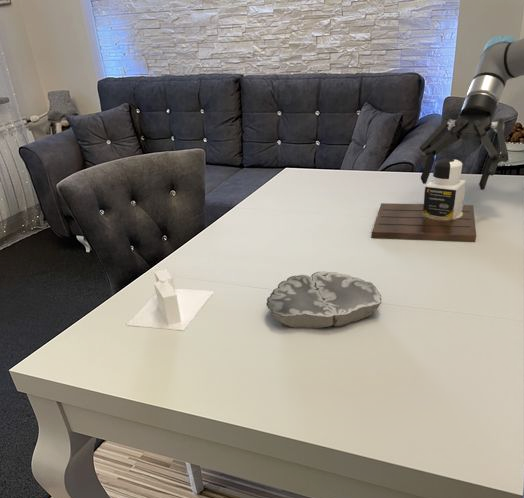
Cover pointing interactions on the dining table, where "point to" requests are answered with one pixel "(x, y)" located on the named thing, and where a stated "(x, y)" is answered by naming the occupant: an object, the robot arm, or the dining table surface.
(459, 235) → the board
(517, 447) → the dining table surface
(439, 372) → the dining table surface
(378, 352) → the dining table surface
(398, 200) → the dining table surface
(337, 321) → the brain slice
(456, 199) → the medicine bottle
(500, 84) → the robot arm
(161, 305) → the napkin holder
